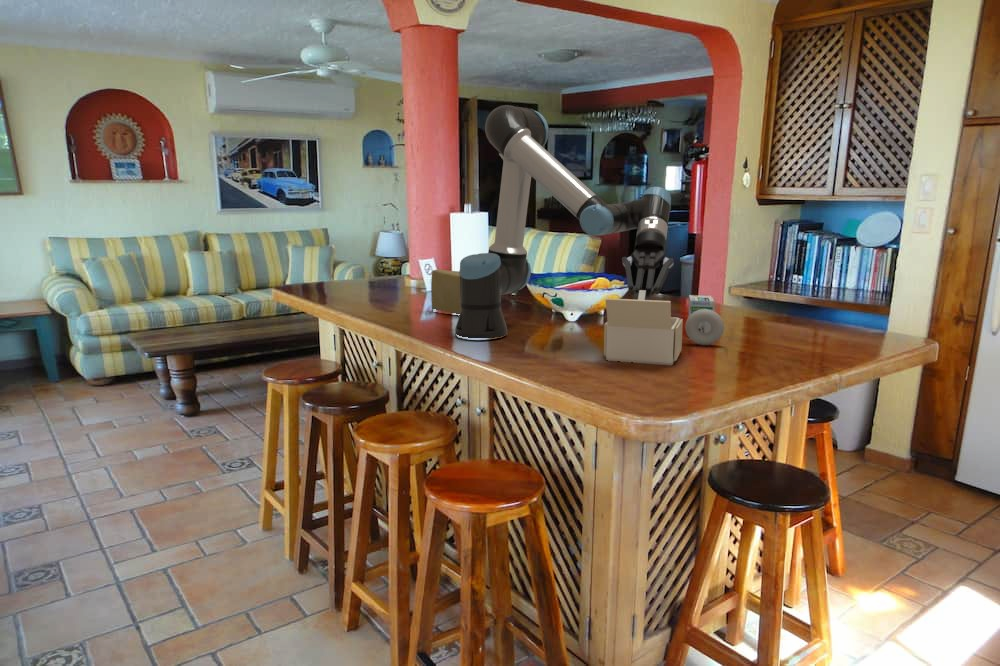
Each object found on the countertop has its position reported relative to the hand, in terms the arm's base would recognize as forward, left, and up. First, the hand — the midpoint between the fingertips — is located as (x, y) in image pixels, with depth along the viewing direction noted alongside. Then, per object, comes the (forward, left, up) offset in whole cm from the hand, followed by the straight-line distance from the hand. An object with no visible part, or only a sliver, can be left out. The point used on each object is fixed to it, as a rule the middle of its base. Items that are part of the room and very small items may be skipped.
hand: (639, 315), depth 164 cm
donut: (+13, +25, -12) cm, 31 cm away
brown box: (-69, +48, -12) cm, 85 cm away
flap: (0, 0, -3) cm, 3 cm away
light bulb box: (+11, +39, -12) cm, 43 cm away
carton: (0, +8, -12) cm, 14 cm away
